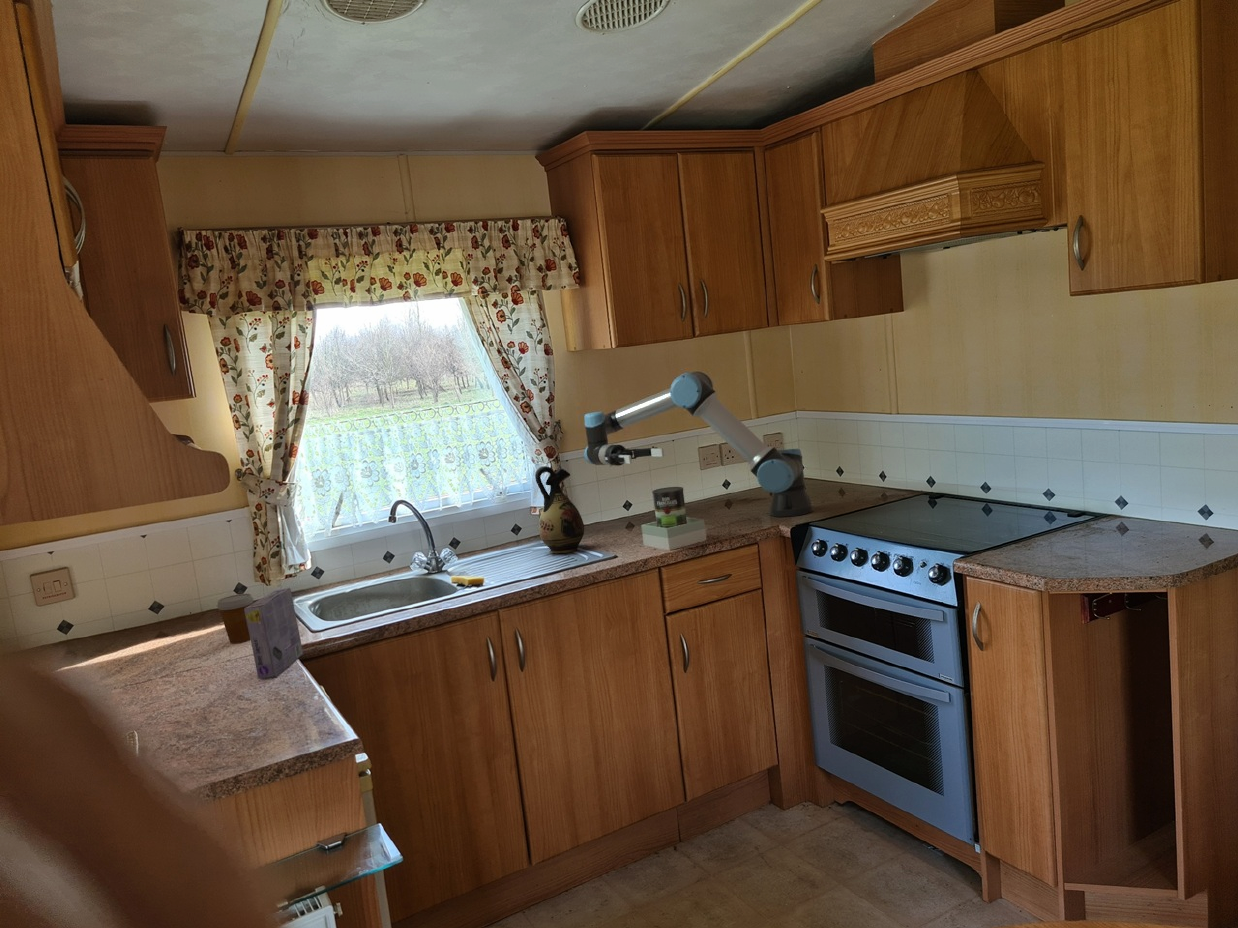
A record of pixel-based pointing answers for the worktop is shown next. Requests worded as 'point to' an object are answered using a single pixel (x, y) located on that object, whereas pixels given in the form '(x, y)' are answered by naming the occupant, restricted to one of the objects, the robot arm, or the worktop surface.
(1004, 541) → the worktop surface
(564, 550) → the ceramic jug
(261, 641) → the cake pan box
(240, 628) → the disposable coffee cup
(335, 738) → the worktop surface
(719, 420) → the robot arm
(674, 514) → the coffee can
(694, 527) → the open rectangular storage box
